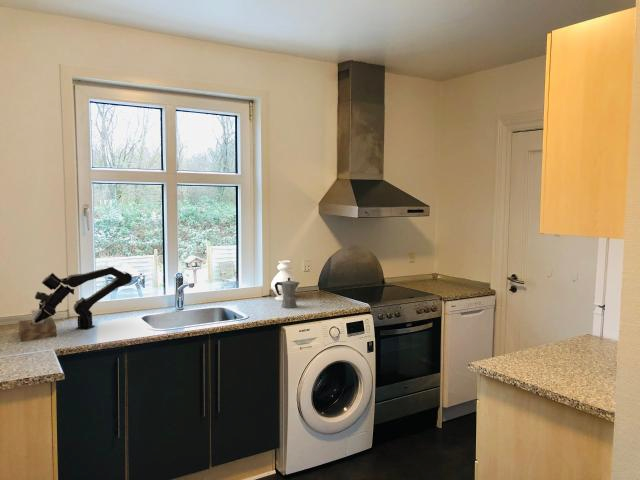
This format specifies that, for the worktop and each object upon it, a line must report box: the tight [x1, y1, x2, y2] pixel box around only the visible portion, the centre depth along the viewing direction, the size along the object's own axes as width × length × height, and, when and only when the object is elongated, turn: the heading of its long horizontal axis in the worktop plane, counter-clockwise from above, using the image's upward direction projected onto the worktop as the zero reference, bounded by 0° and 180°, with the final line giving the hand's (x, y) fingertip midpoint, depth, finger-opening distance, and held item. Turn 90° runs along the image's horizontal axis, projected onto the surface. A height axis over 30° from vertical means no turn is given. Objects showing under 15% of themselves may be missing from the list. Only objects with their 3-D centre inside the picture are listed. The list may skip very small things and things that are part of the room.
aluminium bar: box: [30, 308, 44, 325], centre depth 247 cm, size 5×5×10 cm
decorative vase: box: [270, 259, 299, 301], centre depth 330 cm, size 18×18×25 cm
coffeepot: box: [275, 278, 300, 309], centre depth 305 cm, size 15×9×18 cm, turn 103°
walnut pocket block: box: [17, 316, 57, 342], centre depth 247 cm, size 15×20×6 cm
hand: (34, 320), depth 246 cm, fingers open, 9 cm apart
